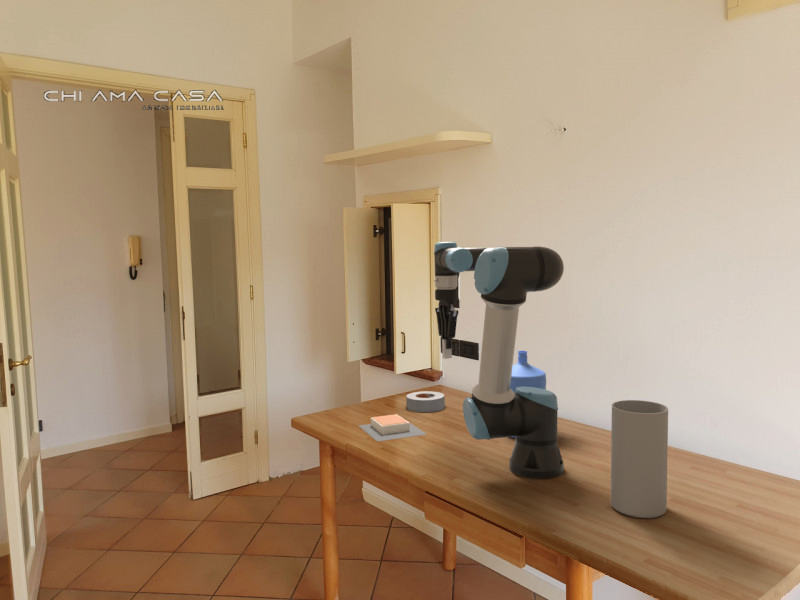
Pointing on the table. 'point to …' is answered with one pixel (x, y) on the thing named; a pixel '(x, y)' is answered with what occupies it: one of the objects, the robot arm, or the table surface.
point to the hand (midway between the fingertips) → (447, 358)
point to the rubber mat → (379, 437)
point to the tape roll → (425, 401)
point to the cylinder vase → (639, 458)
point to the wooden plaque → (390, 424)
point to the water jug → (526, 374)
